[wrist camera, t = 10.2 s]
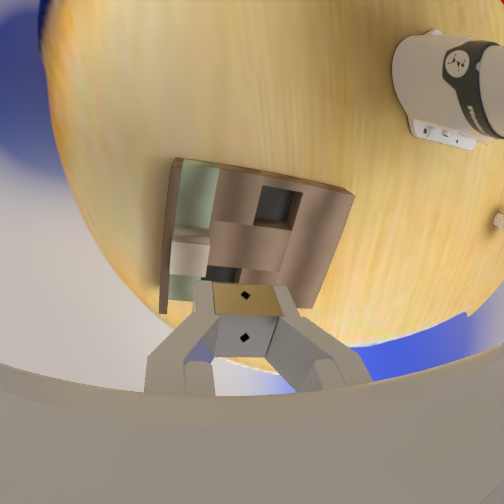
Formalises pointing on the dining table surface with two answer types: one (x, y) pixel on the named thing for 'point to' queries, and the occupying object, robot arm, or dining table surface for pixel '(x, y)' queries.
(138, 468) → the robot arm
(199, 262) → the cube
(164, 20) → the dining table surface
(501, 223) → the clear glass tall piece
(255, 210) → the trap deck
